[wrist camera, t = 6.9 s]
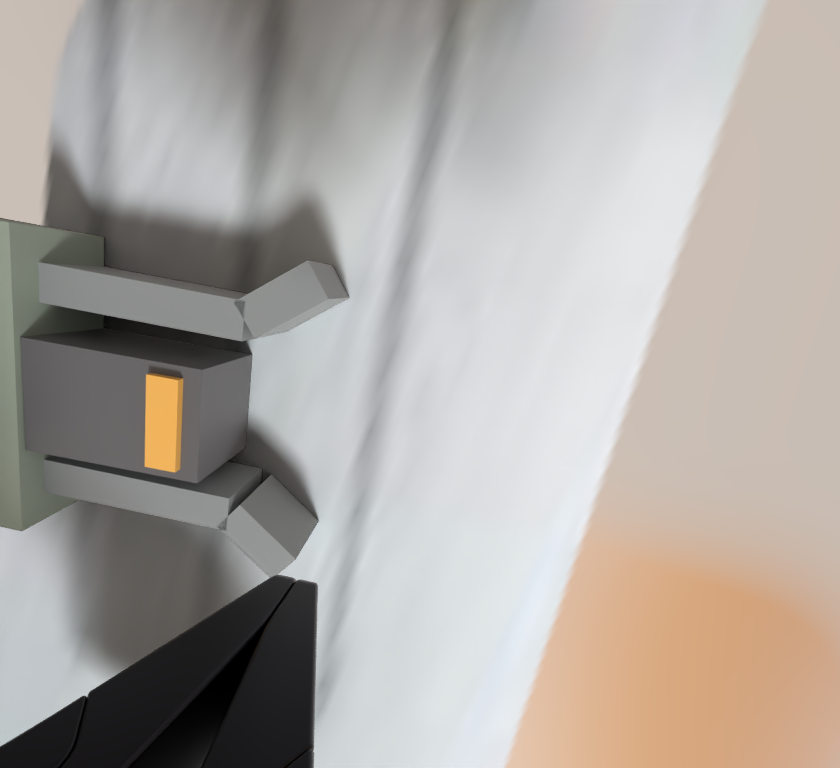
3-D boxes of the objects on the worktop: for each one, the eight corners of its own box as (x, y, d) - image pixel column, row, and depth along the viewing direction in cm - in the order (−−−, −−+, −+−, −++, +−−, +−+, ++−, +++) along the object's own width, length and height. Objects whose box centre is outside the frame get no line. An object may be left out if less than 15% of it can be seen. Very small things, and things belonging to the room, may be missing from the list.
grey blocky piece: (313, 561, 21) (227, 720, 13) (-72, 477, 22) (-366, 580, 14) (356, 243, 18) (276, 205, 10) (-103, 161, 18) (-512, 65, 11)
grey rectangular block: (247, 446, 20) (192, 486, 16) (107, 420, 20) (18, 453, 16) (254, 353, 19) (197, 371, 15) (107, 327, 19) (11, 337, 15)
